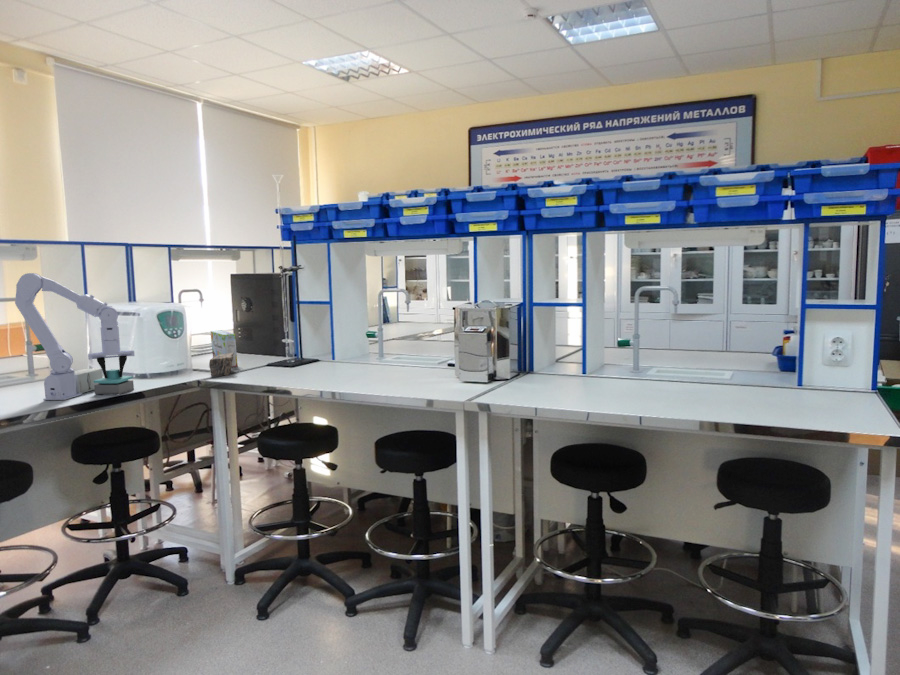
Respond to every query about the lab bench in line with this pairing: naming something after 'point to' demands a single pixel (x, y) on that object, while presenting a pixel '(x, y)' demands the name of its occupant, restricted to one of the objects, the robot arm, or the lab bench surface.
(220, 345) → the snack box
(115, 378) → the lid
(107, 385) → the box
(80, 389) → the supplement box
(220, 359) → the stone block
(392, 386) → the lab bench surface
